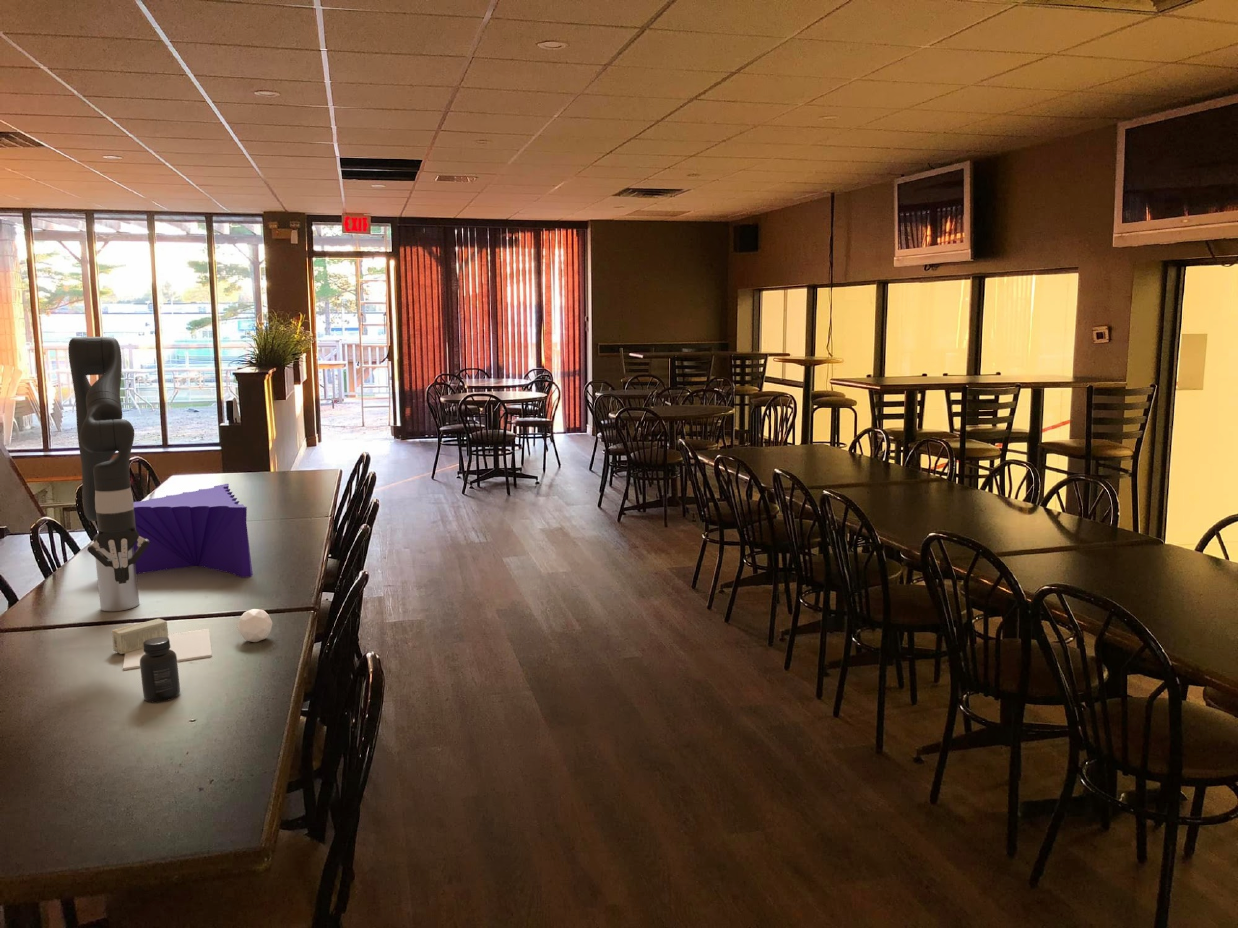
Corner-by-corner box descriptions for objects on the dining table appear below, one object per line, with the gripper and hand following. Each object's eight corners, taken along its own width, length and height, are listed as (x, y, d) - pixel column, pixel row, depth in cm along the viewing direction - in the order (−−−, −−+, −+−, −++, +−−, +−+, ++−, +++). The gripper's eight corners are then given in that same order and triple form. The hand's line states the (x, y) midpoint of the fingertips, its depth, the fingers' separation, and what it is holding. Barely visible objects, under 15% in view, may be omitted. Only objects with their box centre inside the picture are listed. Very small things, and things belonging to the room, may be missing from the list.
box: (112, 650, 217) (161, 638, 225) (120, 654, 214) (169, 642, 223) (111, 628, 216) (159, 617, 225) (119, 632, 214) (167, 621, 222)
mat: (127, 641, 224) (127, 639, 224) (209, 630, 232) (208, 628, 232) (123, 670, 206) (122, 667, 206) (211, 656, 214) (211, 654, 214)
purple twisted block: (250, 578, 278) (244, 507, 275) (101, 579, 279) (93, 509, 276) (298, 545, 317) (293, 483, 314) (167, 546, 318) (161, 484, 315)
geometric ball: (262, 647, 227) (278, 617, 230) (261, 646, 220) (278, 615, 222) (232, 635, 225) (248, 604, 228) (230, 633, 218) (247, 601, 221)
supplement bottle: (186, 689, 195) (181, 634, 193) (171, 702, 189) (166, 646, 187) (152, 690, 195) (147, 635, 193) (137, 703, 188) (131, 646, 186)
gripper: (148, 502, 216) (155, 574, 219) (82, 508, 211) (90, 582, 214) (147, 508, 209) (154, 583, 212) (79, 514, 204) (88, 591, 207)
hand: (122, 582), depth 213 cm, fingers closed
